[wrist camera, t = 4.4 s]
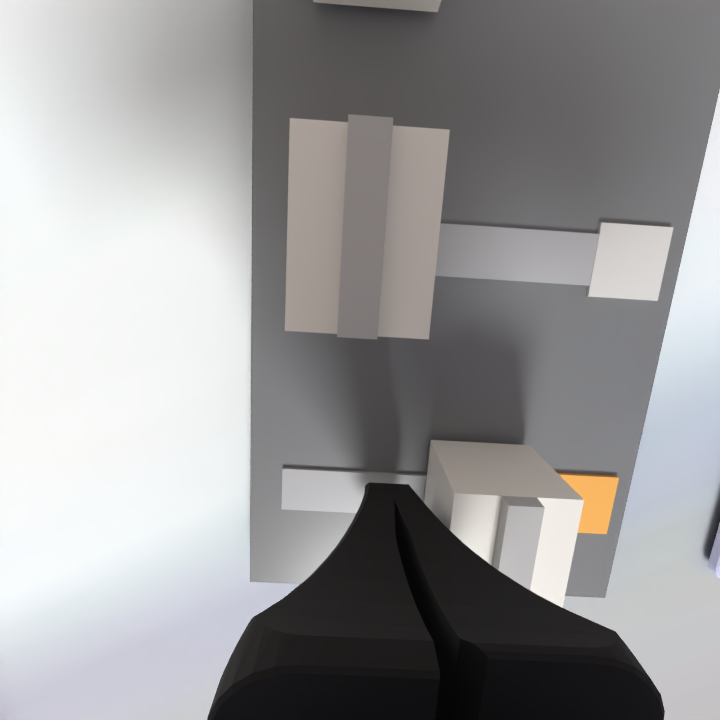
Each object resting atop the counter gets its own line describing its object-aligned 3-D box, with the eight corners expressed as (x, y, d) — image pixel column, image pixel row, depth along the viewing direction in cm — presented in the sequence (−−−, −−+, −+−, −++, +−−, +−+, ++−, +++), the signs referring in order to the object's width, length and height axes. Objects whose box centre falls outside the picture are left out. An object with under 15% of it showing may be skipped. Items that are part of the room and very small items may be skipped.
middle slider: (423, 168, 11) (454, 121, 7) (409, 321, 11) (432, 342, 8) (308, 160, 11) (286, 109, 7) (302, 315, 11) (281, 334, 8)
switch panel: (750, -189, 10) (799, -244, 9) (588, 576, 15) (607, 600, 14) (264, -235, 10) (253, -297, 9) (256, 560, 15) (248, 584, 13)
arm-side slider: (529, 445, 12) (594, 510, 9) (510, 560, 13) (563, 658, 10) (430, 439, 12) (458, 503, 9) (418, 556, 13) (439, 653, 10)
